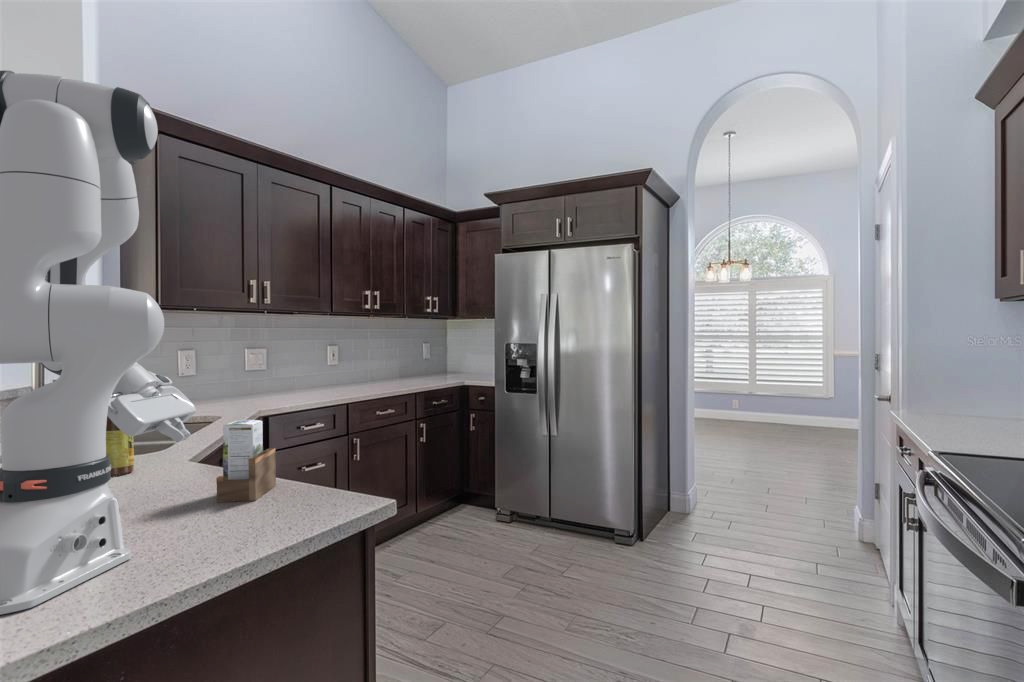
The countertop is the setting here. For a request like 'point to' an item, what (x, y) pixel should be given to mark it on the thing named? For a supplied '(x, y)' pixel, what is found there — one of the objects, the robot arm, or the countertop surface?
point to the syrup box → (241, 447)
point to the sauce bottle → (119, 449)
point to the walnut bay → (250, 480)
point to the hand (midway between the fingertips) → (184, 438)
